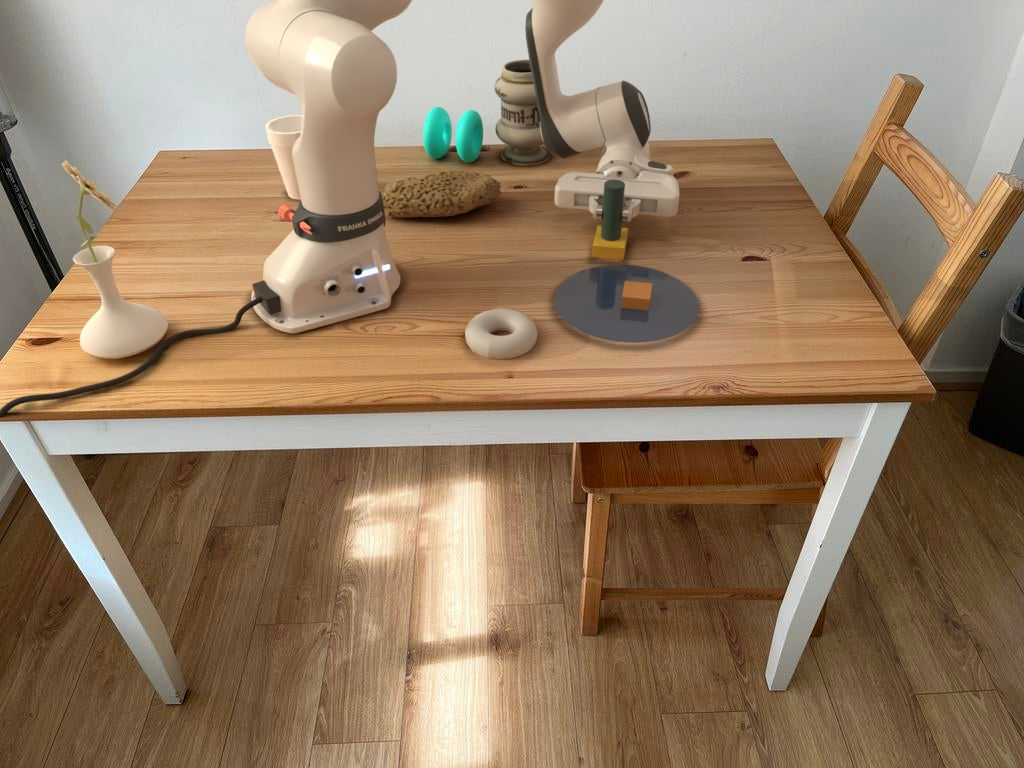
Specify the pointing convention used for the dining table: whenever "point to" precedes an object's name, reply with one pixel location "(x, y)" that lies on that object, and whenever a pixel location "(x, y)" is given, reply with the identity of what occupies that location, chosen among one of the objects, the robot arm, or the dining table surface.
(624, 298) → the orange block
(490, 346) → the donut
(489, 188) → the sponge
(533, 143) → the apothecary jar
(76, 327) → the dining table surface
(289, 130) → the foam cup
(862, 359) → the dining table surface
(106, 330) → the flower in vase
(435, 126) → the donuts
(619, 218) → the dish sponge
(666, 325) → the plate
